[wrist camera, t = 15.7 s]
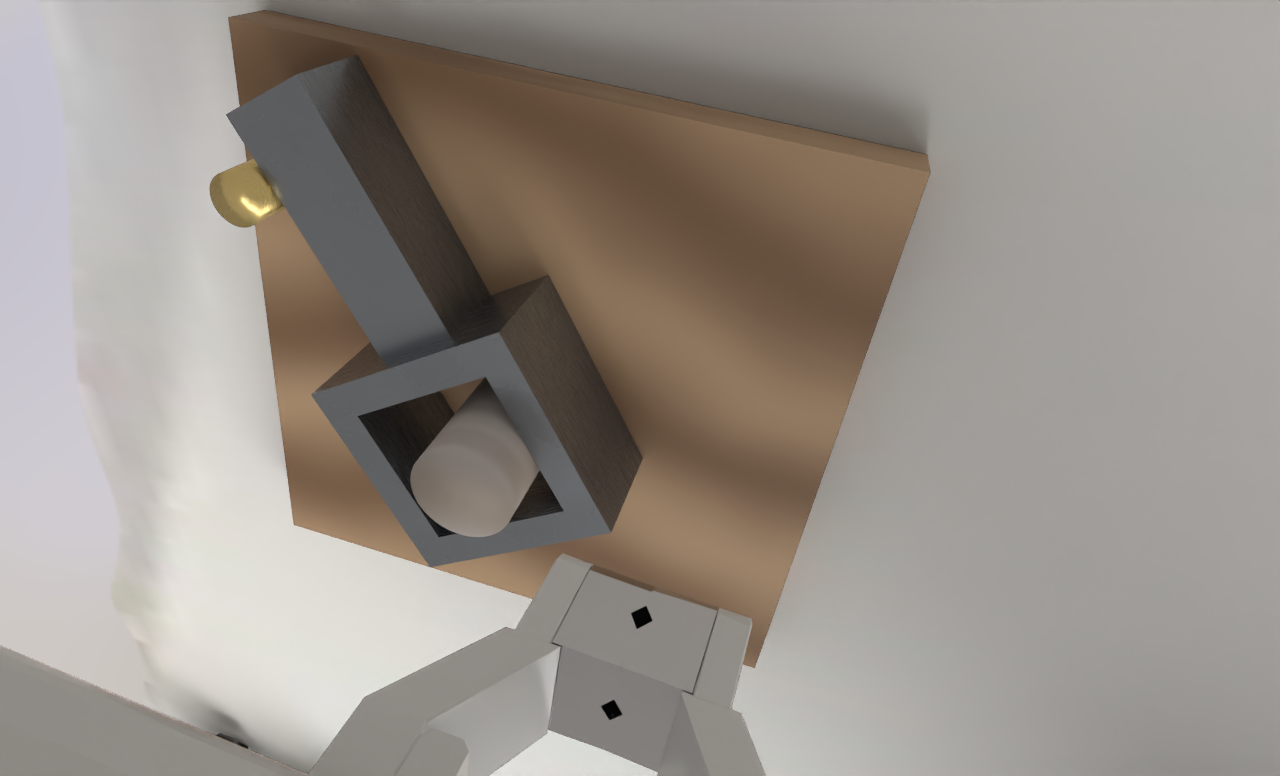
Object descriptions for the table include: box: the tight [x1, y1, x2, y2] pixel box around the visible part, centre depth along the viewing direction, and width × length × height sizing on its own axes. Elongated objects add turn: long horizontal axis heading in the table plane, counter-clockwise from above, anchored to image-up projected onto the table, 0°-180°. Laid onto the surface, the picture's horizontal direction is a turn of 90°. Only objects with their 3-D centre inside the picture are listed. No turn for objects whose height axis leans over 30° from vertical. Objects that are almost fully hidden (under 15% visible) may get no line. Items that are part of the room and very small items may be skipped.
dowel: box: [210, 159, 285, 227], centre depth 22 cm, size 1×1×4 cm
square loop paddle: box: [226, 55, 643, 567], centre depth 22 cm, size 13×6×4 cm, turn 25°
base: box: [228, 10, 930, 668], centre depth 23 cm, size 18×18×6 cm
